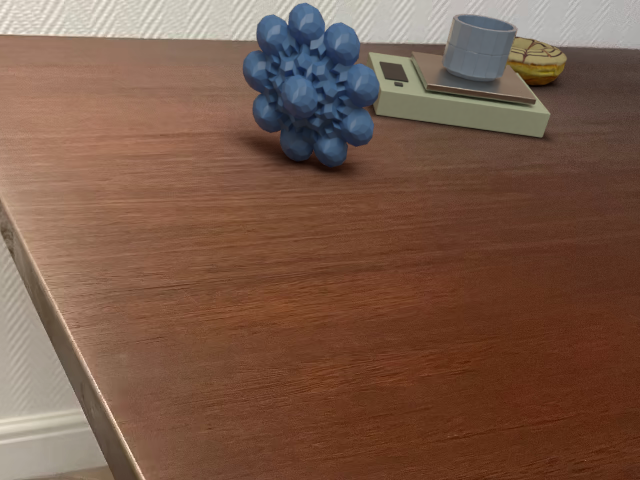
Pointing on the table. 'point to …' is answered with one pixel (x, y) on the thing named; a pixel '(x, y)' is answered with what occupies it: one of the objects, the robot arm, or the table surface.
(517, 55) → the decorated donut
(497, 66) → the cup
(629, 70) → the table surface
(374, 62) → the scale
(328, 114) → the blue knobbed flower
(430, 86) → the scale pan
